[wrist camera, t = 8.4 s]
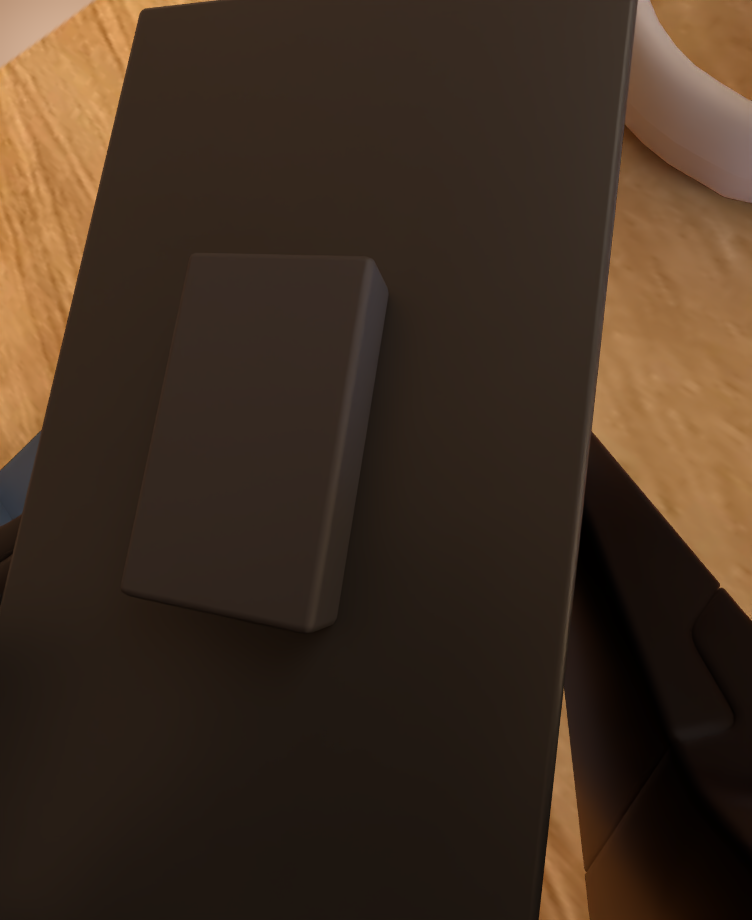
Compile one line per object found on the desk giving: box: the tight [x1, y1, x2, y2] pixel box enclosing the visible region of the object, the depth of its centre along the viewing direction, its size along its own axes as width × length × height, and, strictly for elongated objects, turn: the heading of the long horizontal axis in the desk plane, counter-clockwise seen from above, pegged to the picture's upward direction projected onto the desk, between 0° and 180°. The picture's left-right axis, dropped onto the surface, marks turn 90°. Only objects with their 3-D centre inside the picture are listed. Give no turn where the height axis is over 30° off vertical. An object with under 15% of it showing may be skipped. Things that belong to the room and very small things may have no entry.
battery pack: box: [0, 0, 638, 920], centre depth 10 cm, size 5×9×13 cm, turn 173°
